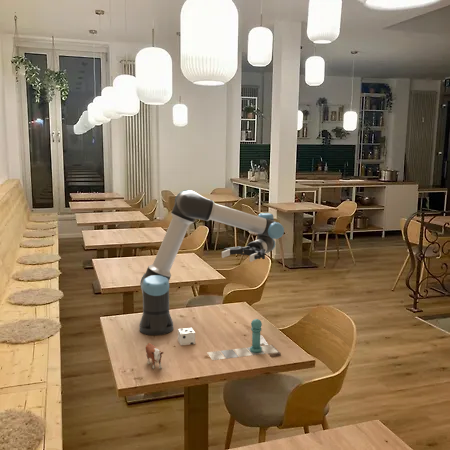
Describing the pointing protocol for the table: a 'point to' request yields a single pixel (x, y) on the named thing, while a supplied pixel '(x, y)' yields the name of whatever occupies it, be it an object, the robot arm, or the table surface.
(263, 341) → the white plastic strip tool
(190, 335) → the die
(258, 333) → the pawn
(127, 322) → the table surface
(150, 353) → the bull figurine
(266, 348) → the board
